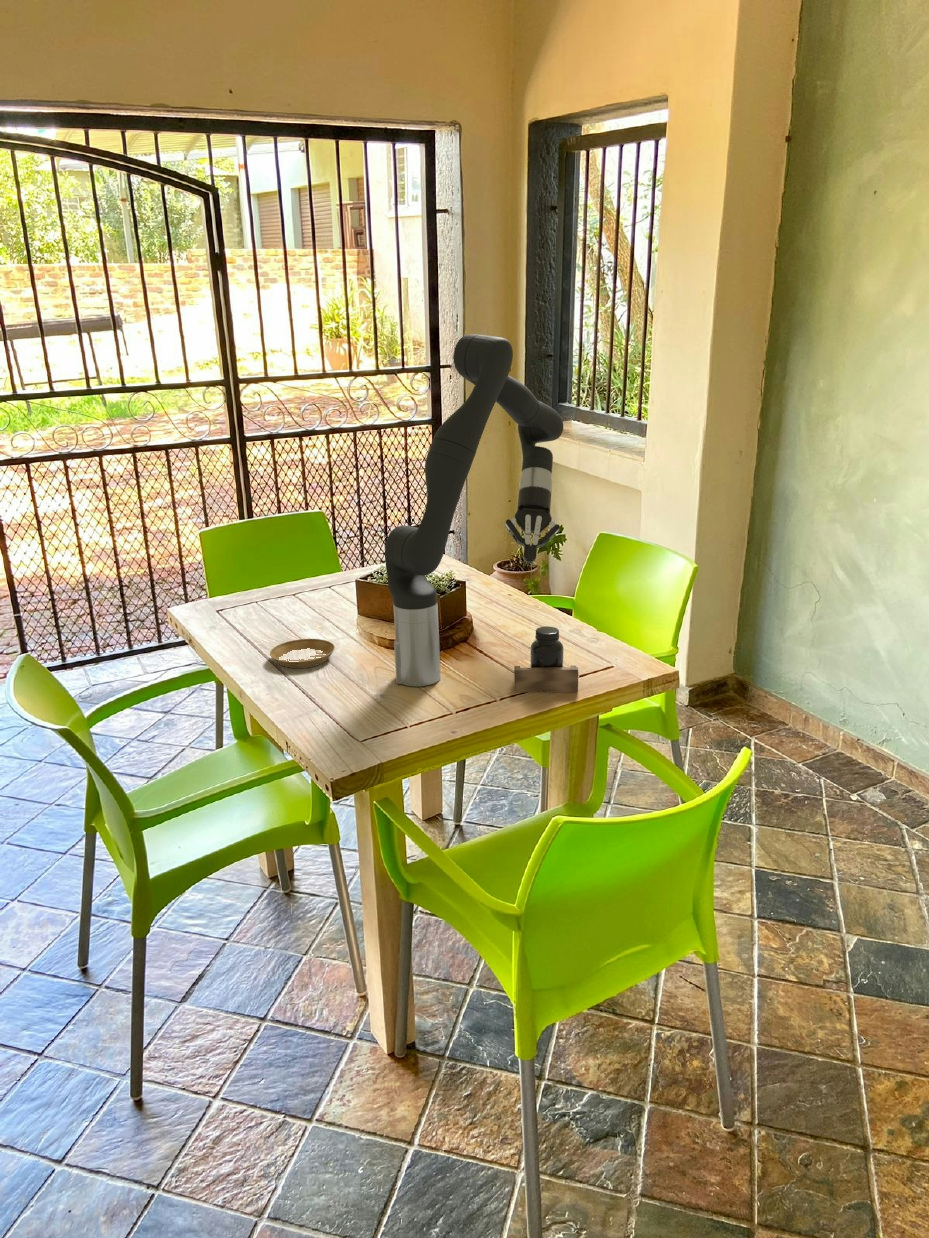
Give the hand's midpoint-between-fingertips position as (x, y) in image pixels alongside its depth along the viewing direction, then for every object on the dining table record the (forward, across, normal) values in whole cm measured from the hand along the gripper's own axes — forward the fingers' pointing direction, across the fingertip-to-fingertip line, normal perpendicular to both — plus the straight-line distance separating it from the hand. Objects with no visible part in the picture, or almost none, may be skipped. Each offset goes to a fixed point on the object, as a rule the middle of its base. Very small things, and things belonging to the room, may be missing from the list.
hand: (529, 562), depth 202 cm
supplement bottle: (+29, +5, -7) cm, 30 cm away
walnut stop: (+29, +5, -8) cm, 31 cm away
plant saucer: (+26, -49, +10) cm, 57 cm away
